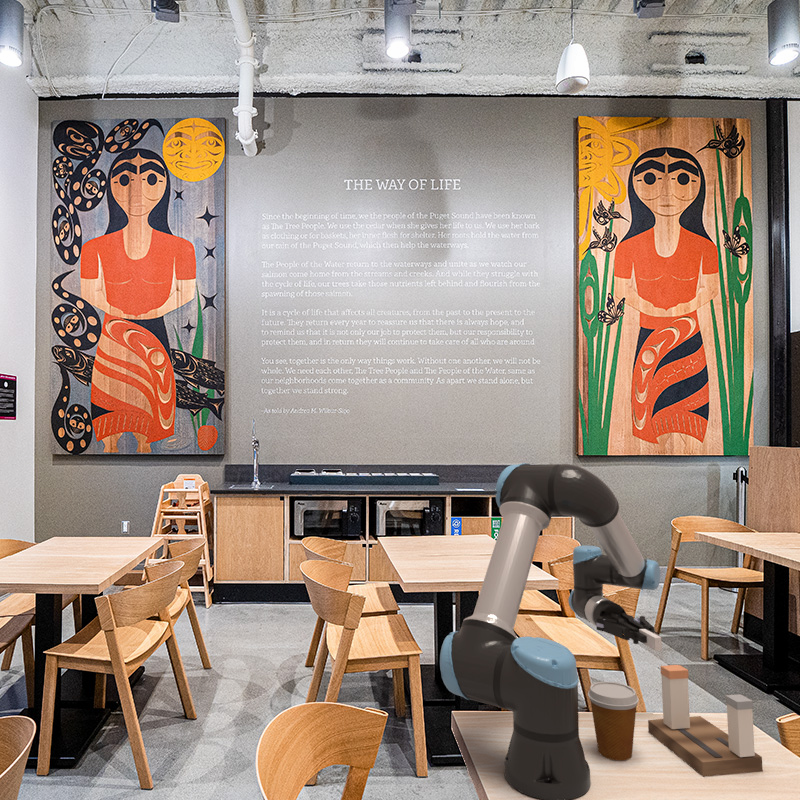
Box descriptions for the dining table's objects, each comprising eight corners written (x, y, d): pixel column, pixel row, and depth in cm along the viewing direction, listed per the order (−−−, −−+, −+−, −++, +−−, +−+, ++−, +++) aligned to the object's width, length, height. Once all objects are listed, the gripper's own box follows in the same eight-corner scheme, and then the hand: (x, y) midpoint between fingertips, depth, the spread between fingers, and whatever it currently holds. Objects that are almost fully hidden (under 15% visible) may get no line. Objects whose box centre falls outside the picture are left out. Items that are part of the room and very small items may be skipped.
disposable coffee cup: (645, 767, 114) (642, 700, 115) (592, 762, 116) (590, 697, 117) (636, 744, 124) (633, 682, 125) (587, 739, 126) (585, 679, 127)
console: (648, 732, 129) (647, 715, 129) (700, 728, 131) (699, 711, 131) (703, 776, 111) (702, 756, 111) (762, 771, 113) (761, 751, 113)
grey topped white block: (728, 749, 116) (725, 695, 116) (743, 747, 116) (740, 694, 117) (740, 757, 112) (737, 702, 113) (755, 756, 113) (752, 700, 114)
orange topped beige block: (662, 722, 127) (660, 665, 128) (681, 721, 128) (678, 664, 129) (671, 729, 124) (669, 671, 125) (690, 728, 124) (688, 670, 125)
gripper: (630, 628, 157) (686, 659, 134) (582, 631, 155) (631, 663, 132) (629, 598, 158) (685, 624, 135) (581, 601, 156) (629, 628, 133)
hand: (658, 643), depth 133 cm, fingers closed
